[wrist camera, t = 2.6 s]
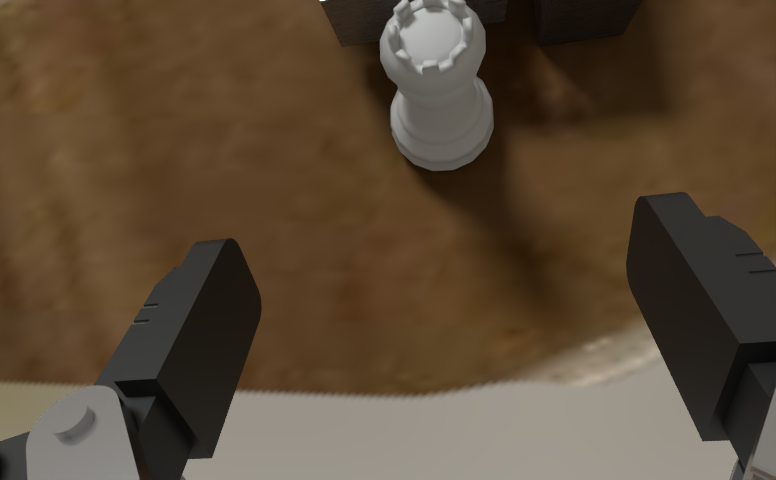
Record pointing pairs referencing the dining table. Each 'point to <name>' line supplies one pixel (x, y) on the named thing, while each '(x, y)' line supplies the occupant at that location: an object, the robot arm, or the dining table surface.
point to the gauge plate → (388, 17)
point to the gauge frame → (581, 19)
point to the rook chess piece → (437, 83)
